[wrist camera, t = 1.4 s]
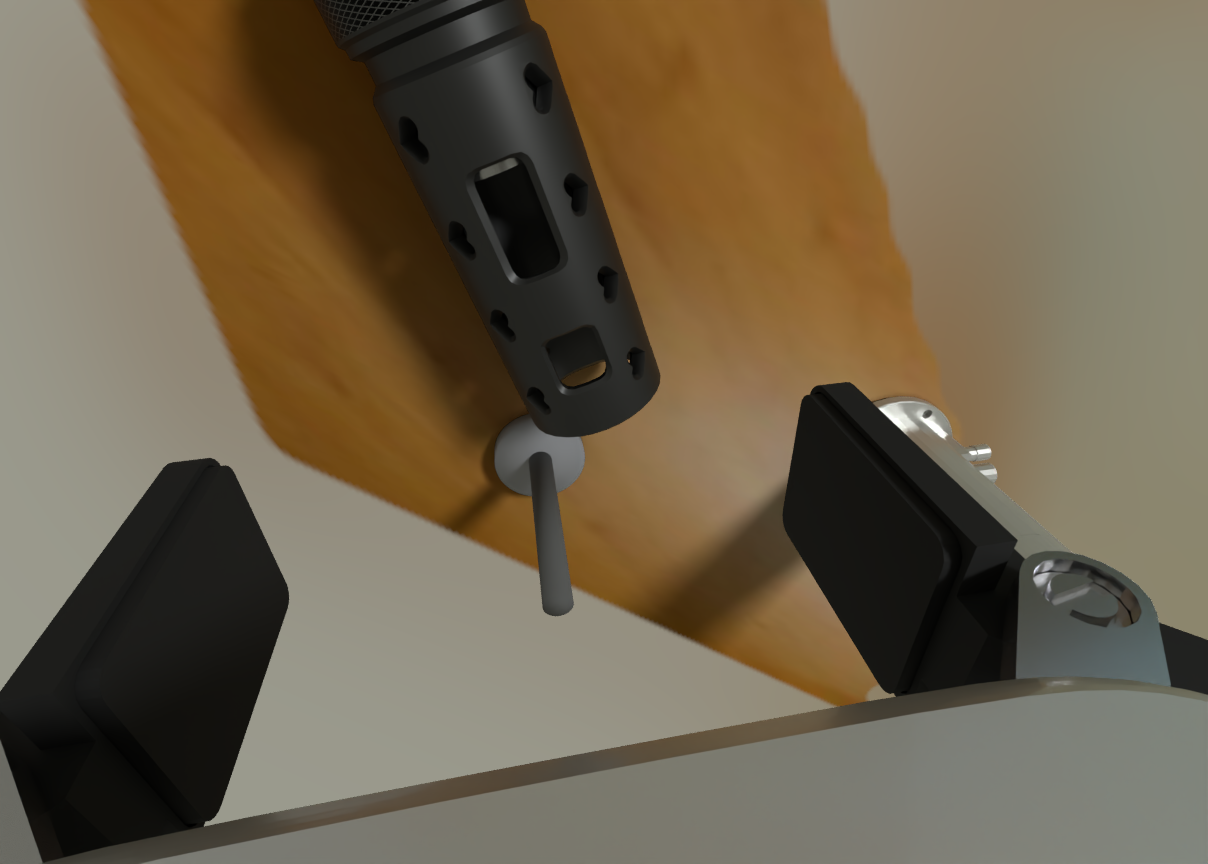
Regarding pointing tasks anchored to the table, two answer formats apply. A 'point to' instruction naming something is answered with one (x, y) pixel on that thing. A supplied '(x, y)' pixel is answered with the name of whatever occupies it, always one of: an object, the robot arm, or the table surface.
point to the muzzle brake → (508, 196)
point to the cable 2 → (542, 497)
